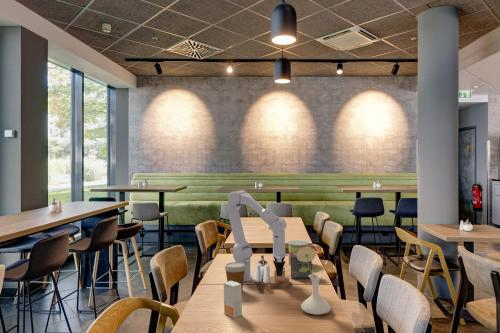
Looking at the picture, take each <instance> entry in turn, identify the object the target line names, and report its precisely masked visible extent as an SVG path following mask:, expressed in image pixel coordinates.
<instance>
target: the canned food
mask: <svg viewBox="0 0 500 333" xmlns="http://www.w3.org/2000/svg"><path fill="white" fill-rule="evenodd" d="M303 247H305V248H306V247H308V248H309V242H308V241H306V240H291V241H290V240H289V242H288V265H289V266H291V255H296V254H298V251H299V250H300V249H303Z"/></svg>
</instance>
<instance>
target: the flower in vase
mask: <svg viewBox="0 0 500 333" xmlns="http://www.w3.org/2000/svg"><path fill="white" fill-rule="evenodd" d="M296 256H297V258H298V260H299V261H303V262H308V261H311V260H312V261H313V260H314V259H315V258H316V257H317V252H316V250H315V248H312V247H311V246H308V247H306V248H305V247H303V249H300V250H299V251H298V254H296ZM308 268H309V264H308ZM308 268H306V267H302V268H301V269H299V271H300V272H307V271H308V270H310V268H309V269H308ZM321 269H322V266H318V267H316V268H315V267H314V269H312V271H311V270H310V271H311V273H312V274H310V275H309V277H310V279H309V280H310V281H311V286H312V291H311V295H310V296H309V297H307V298H306V299H305V300H304V301H303V302H302V303H301V305H300V308H301V310H302V311H303V312H305V313H307V314H310V315H316V316H317V315H324V314H327V313H329V312H330V311H331V309H332V308H331V304H330V303H329V302H328V301H327V300H325V298H323V297H322V296H321V295H320V293H319V285H320V284H319V283H320V281H321V278H322V277H323V276H322V275H321V274H318V273H319V272H320V270H321Z"/></svg>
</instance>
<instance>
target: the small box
mask: <svg viewBox="0 0 500 333" xmlns="http://www.w3.org/2000/svg"><path fill="white" fill-rule="evenodd" d="M308 264H309V268H310V270H311V271H312V273H313V260H311V261H308V262H303V261H299V260H298V258H297V256H296V255H291V265H290V279H291V280H292V279H296V280H298V279H299V280H300V279H301V280H311V279H310V277H309V275H310V274H312V273H311V271H310V270H308V271H307V272H300V271H299V269H301V268H302V267H306V268H308ZM309 268H308V269H309Z"/></svg>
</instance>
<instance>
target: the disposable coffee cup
mask: <svg viewBox="0 0 500 333" xmlns="http://www.w3.org/2000/svg"><path fill="white" fill-rule="evenodd" d="M245 268H246V267H245V265H244V263H241V262H232V261H231V262H227V263H226V264H225V266H224V270H225V275H226V280H227V281H226V282H228V281H234V282H237V283H240V284H241V288H242V291H243V289H244V288H243V287H244V281H243V280H244V271H245Z"/></svg>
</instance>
